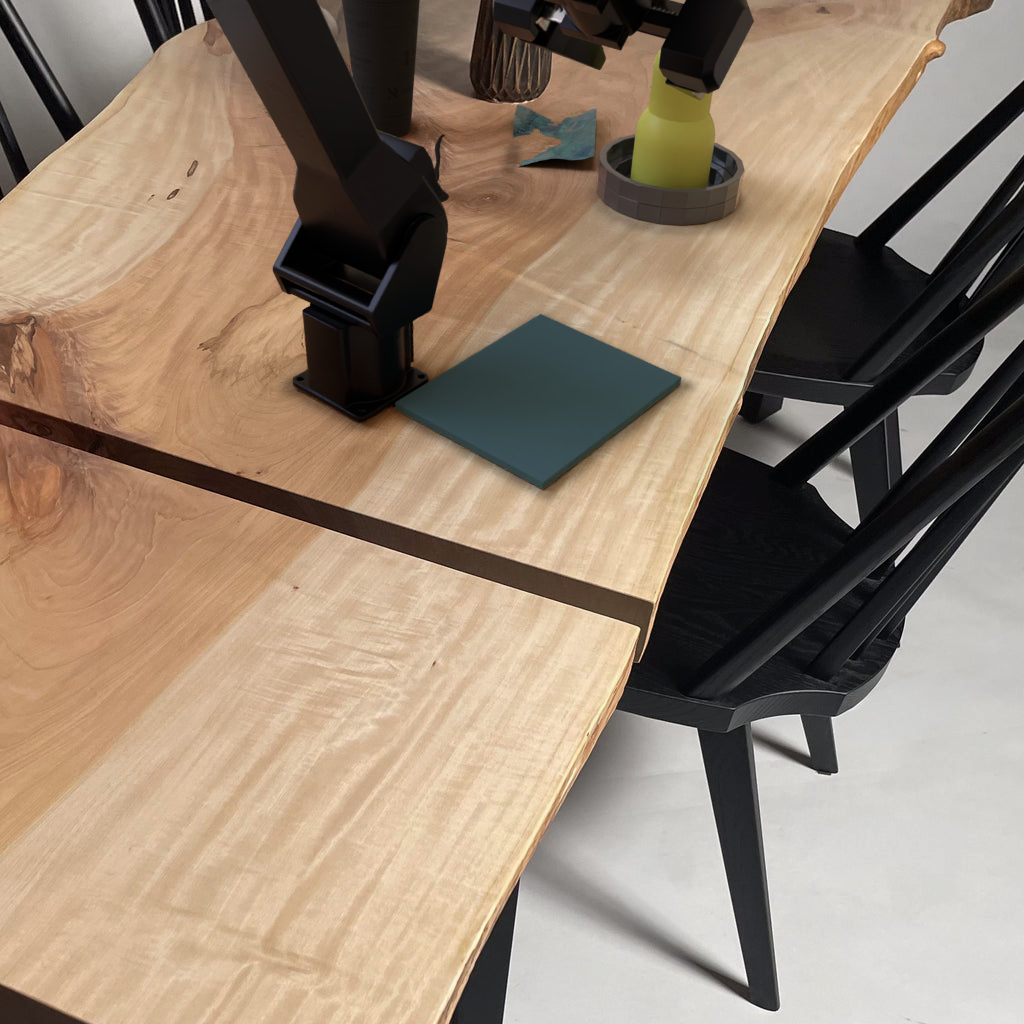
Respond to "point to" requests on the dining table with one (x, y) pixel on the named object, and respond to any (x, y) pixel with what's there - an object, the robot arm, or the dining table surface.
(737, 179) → the bowl
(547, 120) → the teal flat jagged piece
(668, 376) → the mat
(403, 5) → the drinking cup
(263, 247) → the dining table surface
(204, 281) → the dining table surface
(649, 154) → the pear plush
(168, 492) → the dining table surface
